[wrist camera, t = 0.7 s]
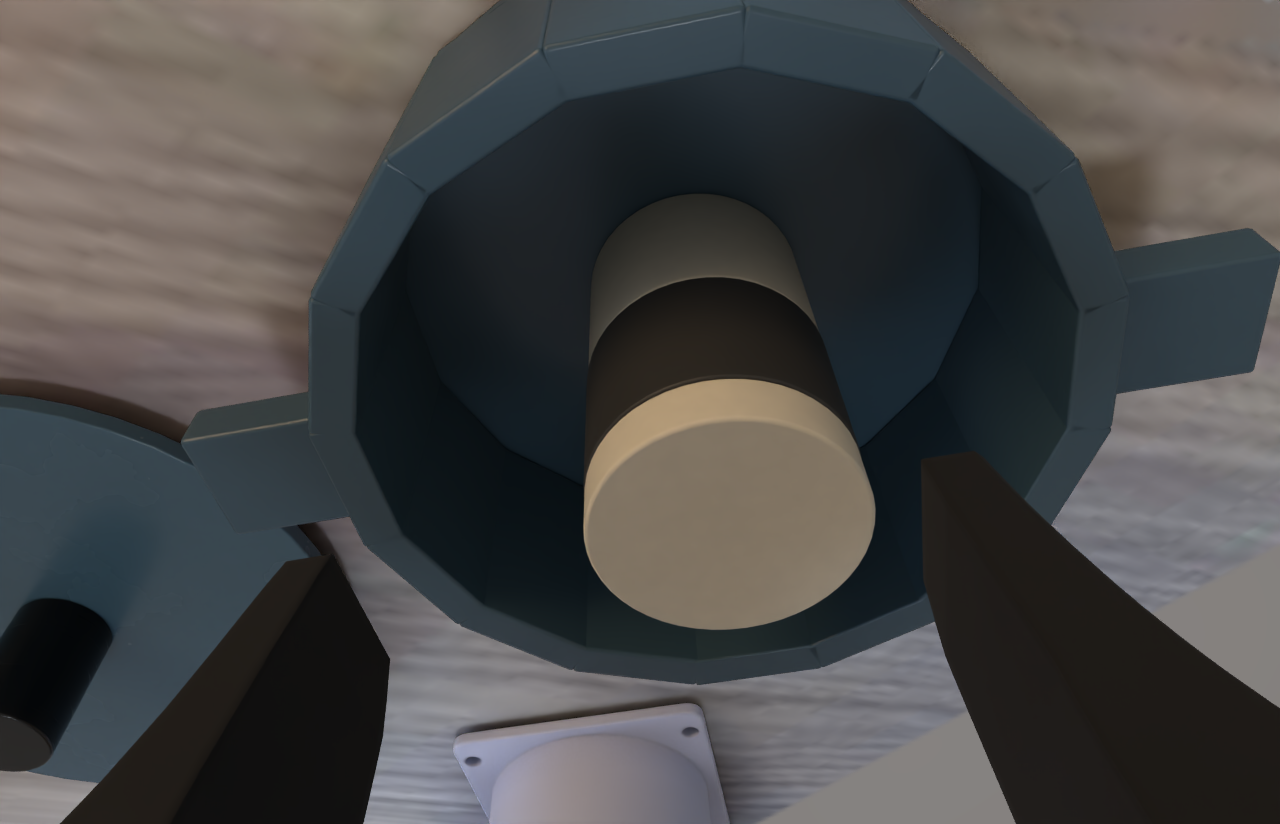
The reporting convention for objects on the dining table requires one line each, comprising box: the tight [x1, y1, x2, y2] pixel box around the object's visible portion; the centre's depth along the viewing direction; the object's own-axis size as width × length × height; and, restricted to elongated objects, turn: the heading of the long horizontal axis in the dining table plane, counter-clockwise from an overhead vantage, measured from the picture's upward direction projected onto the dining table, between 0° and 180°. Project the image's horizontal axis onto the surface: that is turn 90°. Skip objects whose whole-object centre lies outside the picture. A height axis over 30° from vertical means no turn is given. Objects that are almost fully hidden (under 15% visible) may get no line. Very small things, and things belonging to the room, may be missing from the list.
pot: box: [181, 0, 1280, 685], centre depth 18 cm, size 14×19×6 cm
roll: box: [583, 194, 876, 630], centre depth 17 cm, size 4×4×8 cm
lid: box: [0, 394, 322, 783], centre depth 24 cm, size 15×15×5 cm
